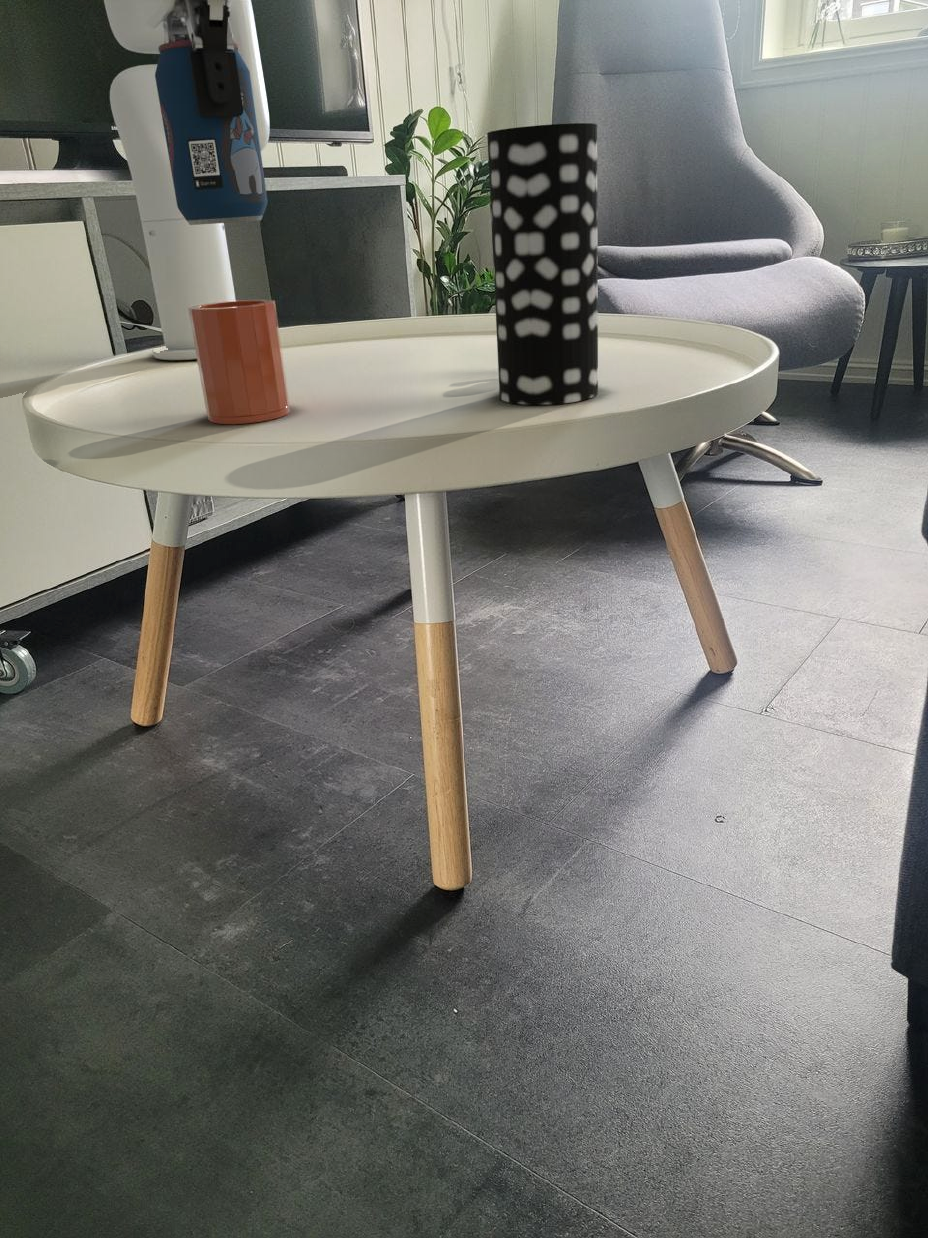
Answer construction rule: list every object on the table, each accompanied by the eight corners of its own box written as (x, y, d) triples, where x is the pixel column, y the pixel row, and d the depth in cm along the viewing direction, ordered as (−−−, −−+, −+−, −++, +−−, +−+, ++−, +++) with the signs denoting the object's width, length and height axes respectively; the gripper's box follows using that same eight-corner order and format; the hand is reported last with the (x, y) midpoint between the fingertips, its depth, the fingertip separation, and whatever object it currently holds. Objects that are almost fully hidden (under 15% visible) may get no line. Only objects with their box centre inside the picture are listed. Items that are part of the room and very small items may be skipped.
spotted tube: (527, 409, 73) (517, 125, 65) (483, 394, 80) (469, 136, 72) (617, 395, 76) (618, 121, 68) (567, 381, 83) (563, 132, 75)
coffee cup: (200, 415, 79) (181, 305, 76) (276, 403, 82) (261, 297, 78) (219, 428, 74) (198, 311, 70) (300, 415, 76) (284, 302, 73)
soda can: (195, 224, 76) (167, 55, 71) (278, 218, 76) (255, 48, 71) (168, 226, 70) (135, 41, 65) (258, 220, 69) (232, 34, 64)
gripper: (90, -137, 68) (139, 134, 75) (125, -236, 54) (182, 110, 61) (191, -128, 71) (230, 131, 78) (251, -221, 57) (291, 107, 64)
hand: (209, 120), depth 70 cm, fingers closed on soda can, 7 cm apart
